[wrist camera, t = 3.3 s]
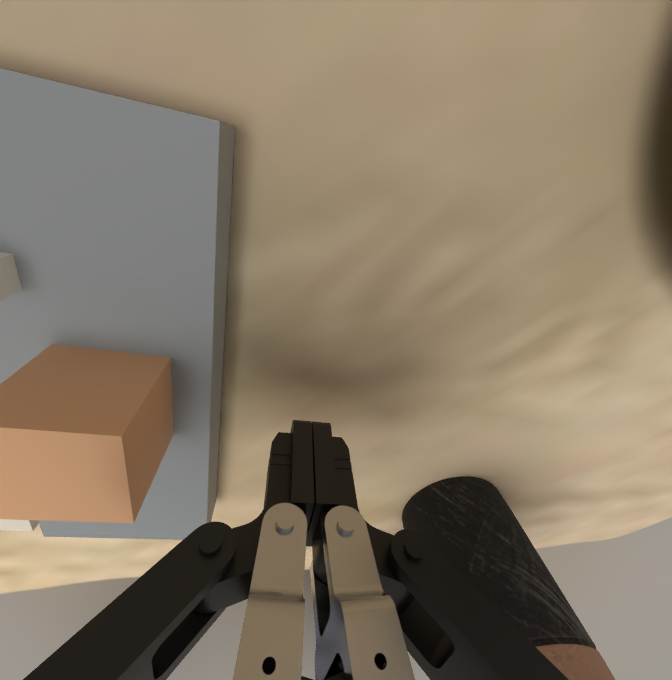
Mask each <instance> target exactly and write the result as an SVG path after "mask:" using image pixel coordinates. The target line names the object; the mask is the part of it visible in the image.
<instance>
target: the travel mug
mask: <svg viewBox="0 0 672 680" xmlns="http://www.w3.org/2000/svg"><path fill="white" fill-rule="evenodd" d="M402 521H403V526H404V530H412V531H415V532H417V533H419V534H421V535H422V536H423V537H424V538H425V539H426V540H427V541H428V542H429V543H430V544H431V545H432V546H433V547H434V548H436V549H437V550H438V551H439V552H440V553H441V554H442V555H443V556H444V557H445V558H446V559H447V560H448V561H449V562H450V563H451V564H452V565H453V566H454V567H455V568H456V569H457V570H458V571H459V572H460V573H461V574H462V575H463V576H464V577H465V578H466V579H467V580H468V581H469V582H470V583H471V584H472V585H473V586H474V587H475V588H476V589H477V590H478V591H479V592H480V593H481V594H482V595H483V596H484V597H485V598H486V599H487V600H488V601H489V602H490V603H491V604H492V605H493V606H494V607H495V608H497V609H498V610H499V611H500V612H501V613H502V614H503V615H504V616H505V617H506V618H507V619H508V620H509V621H510V622H511V623H512V624H513V625H514V626H515V627H516V628H517V629H518V630H519V631H520V632H521V633H522V634H523V635H524V636H525V637H526V638H527V639H528V640H529V641H530V642H531V643H532V644H533V645H534V646H535V647H536V648H537V649H538V650H539V651H540V652H541V653H542V654H543V655H544V656H545V657H546V658H547V659H548V660H549V661H550V662H551V663H552V664H553V665H554V666H555V667H556V668H558V669H559V670H560V671H561V672H562V673H563V674H564V675H565V676H566V677H567V678H568V679H569V680H615V678H614V677H613V675H612V673H611V671H610V670H609V668H608V666H607V665H606V663H605V661H604V660H603V658H602V656H601V655H600V653H599V652H598V651H597V650H596V647H595V645H594V643H593V641H592V640H591V638H590V637H589V635H588V634H587V632H586V630H585V629H584V627H583V625H582V624H581V622H580V620H579V619H578V617H577V616H576V614H575V613H574V611H573V609H572V608H571V606H570V604H569V603H568V601H567V600H566V598H565V596H564V595H563V593H562V592H561V590H560V588H559V587H558V585H557V583H556V582H555V580H554V579H553V577H552V575H551V574H550V572H549V571H548V569H547V567H546V566H545V564H544V563H543V561H542V559H541V558H540V556H539V555H538V553H537V551H536V550H535V548H534V546H533V545H532V543H531V542H530V540H529V538H528V537H527V535H526V533H525V532H524V530H523V529H522V527H521V525H520V524H519V522H518V521H517V519H516V517H515V516H514V514H513V513H512V511H511V509H510V508H509V506H508V505H507V503H506V502H505V500H504V498H503V497H502V495H501V494H500V493H499V491H498V490H497V489H496V488H495V487H494V486H493V485H492V484H491V483H489V482H487V481H485V480H482V479H478V478H471V477H460V478H452V479H448V480H444V481H440V482H438V483H435V484H433V485H431V486H428V487H427V488H425V489H423V490H421V491H420V492H419V493H417V494H416V495H415V496H414V497H413V498H412V499H411V500H410V501H409V502H408V504H407V505H406V507H405V509H404V511H403V518H402Z"/></svg>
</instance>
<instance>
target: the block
mask: <svg viewBox="0 0 672 680" xmlns="http://www.w3.org/2000/svg"><path fill="white" fill-rule="evenodd" d="M173 435H174V429H173V403H172V377H171V358H169V357H161V356H152V355H143V354H135V353H126V352H117V351H109V350H100V349H91V348H83V347H74V346H65V345H56V344H51V345H50V346H49V347H47V348H46V349H45V350H43V351H42V352H41V353H40V354H38V355H37V356H36V357H34V358H33V359H32V360H31V361H29V362H28V363H27V364H26V365H24V366H23V367H22V368H20V369H19V370H18V371H17V372H15V373H14V374H13V375H11V376H10V377H9V378H8V379H6V380H5V381H4V382H2V383H1V384H0V519H11V520H43V521H76V522H108V523H134V522H135V520H136V517H137V515H138V513H139V511H140V508H141V506H142V504H143V502H144V499H145V497H146V495H147V493H148V490H149V488H150V486H151V484H152V481H153V479H154V477H155V475H156V473H157V470H158V468H159V466H160V464H161V461H162V459H163V457H164V455H165V452H166V450H167V448H168V446H169V443H170V441H171V439H172V437H173Z"/></svg>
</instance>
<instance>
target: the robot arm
mask: <svg viewBox="0 0 672 680" xmlns="http://www.w3.org/2000/svg"><path fill="white" fill-rule="evenodd" d="M306 546H312V548H313V560H312V563H311V567H310V576H311V588H312V599H313V611H314V622H315V633H316V651H315V680H415V678H414V674H413V670H412V667H411V663H410V659H409V655H408V652H409V653H410V654H411V656H412V657H413V658H414V659H415V661H416V662H417V663H418V665H419V666H420V667H421V668H422V670H423V671H424V672H425V673H426V675H427V676H428V677H429V678H430V680H569V679H568V678H567V677H566V676H565V675H564V674H563V673H562V672H561V671H560V670H559V669H558V668H556V667H555V666H554V665H553V664H552V663H551V662H550V661H549V660H548V659H547V658H546V657H545V656H544V655H543V654H542V653H541V652H540V651H539V650H538V649H537V648H536V647H535V646H534V645H533V644H532V643H531V642H530V641H529V640H528V639H527V638H526V637H525V636H524V635H523V634H522V633H521V632H520V631H519V630H518V629H517V628H516V627H515V626H514V625H513V624H512V623H511V622H510V621H509V620H508V619H507V618H506V617H505V616H504V615H503V614H502V613H501V612H500V611H499V610H498V609H497V608H495V607H494V606H493V605H492V604H491V603H490V602H489V601H488V600H487V599H486V598H485V597H484V596H483V595H482V594H481V593H480V592H479V591H478V590H477V589H476V588H475V587H474V586H473V585H472V584H471V583H470V582H469V581H468V580H467V579H466V578H465V577H464V576H463V575H462V574H461V573H460V572H459V571H458V570H457V569H456V568H455V567H454V566H453V565H452V564H451V563H450V562H449V561H448V560H447V559H446V558H445V557H444V556H443V555H442V554H441V553H440V552H439V551H438V550H437V549H436V548H434V547H433V546H432V545H431V544H430V543H429V542H428V541H427V540H426V539H425V538H424V537H423V536H422V535H421V534H419V533H417V532H415V531H412V530H401V531H399V532H397V533H396V534H395V535H391V534H389V533H386V532H384V531H381V530H378V529H376V528H374V527H372V526H371V525H370V524H368V523H367V522H366V521H365V520H364V518H363V516H362V515H361V514H360V512H359V509H358V505H357V499H356V493H355V487H354V480H353V474H352V468H351V462H350V455H349V448H348V447H347V445H346V443H345V442H344V440H343V439H342V438H341V437H332V432H331V424H330V423H322V422H312V423H311V422H310V421H299V420H293V422H292V427H291V432H290V433H281V432H278V434H277V435H276V437H275V438H274V440H273V441H272V446H271V452H270V459H269V465H268V473H267V482H266V492H265V501H264V509H263V511H262V513H261V514H260V515H259V516H258V517H257V518H256V519H255V520H254V521H252V522H250V523H248V524H245V525H242V526H239V527H236V528H231V527H229V526H228V525H227V524H224V523H221V522H209V523H206V524H203V525H201V526H199V527H198V528H197V529H195V530H194V531H193V532H192V533H191V534H189V535H188V536H187V537H186V538H185V539H184V540H183V541H181V542H180V543H179V544H178V545H177V546H176V547H174V548H173V549H172V550H171V551H170V552H169V553H168V554H166V555H165V556H164V557H163V558H162V559H161V560H160V561H158V562H157V563H156V564H155V565H154V566H153V567H152V568H150V569H149V570H148V571H147V572H146V573H145V574H144V575H142V576H141V577H140V578H139V579H138V580H137V581H136V582H134V583H133V584H132V585H131V586H130V587H129V588H128V589H126V590H125V591H124V592H123V593H122V594H121V595H119V596H118V597H117V598H116V599H115V600H114V601H113V602H112V603H110V604H109V605H108V606H107V607H106V608H105V609H103V610H102V611H101V612H100V613H99V614H98V615H97V616H95V617H94V618H93V619H92V620H91V621H90V622H89V623H87V624H86V625H85V626H84V627H83V628H82V629H81V630H79V631H78V632H77V633H76V634H75V635H74V636H72V637H71V638H70V639H69V640H68V641H67V642H66V643H64V644H63V645H62V646H61V647H60V648H59V649H58V650H57V651H55V652H54V653H53V654H52V655H51V656H50V657H48V658H47V659H46V660H45V661H44V662H43V663H41V664H40V665H39V666H38V667H37V668H36V669H35V670H34V671H32V672H31V673H30V674H29V675H28V676H27V677H25V678H24V679H23V680H166V679H167V678H168V677H169V675H170V674H171V673H172V672H173V670H174V669H175V668H176V667H177V666H178V665H179V663H180V662H181V661H182V660H183V659H184V657H185V656H186V655H187V654H188V653H189V652H190V650H191V649H192V648H193V647H194V646H195V644H196V643H197V642H198V641H199V640H200V638H201V637H202V636H203V635H204V634H205V633H206V631H207V630H208V629H209V628H210V627H211V625H212V624H213V623H214V622H215V621H216V619H217V618H218V617H219V616H220V615H221V613H222V612H223V611H224V610H225V608H226V607H228V606H231V605H233V604H236V603H238V602H241V601H243V600H246V599H248V601H247V606H246V611H245V617H244V622H243V627H242V633H241V638H240V643H239V649H238V654H237V660H236V665H235V670H234V676H233V680H312V679H309V678H306V677H303V676H301V672H302V654H303V637H304V636H303V635H304V618H305V600H304V598H303V585H304V569H305V553H306ZM407 651H408V652H407Z"/></svg>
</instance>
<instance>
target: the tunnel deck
mask: <svg viewBox="0 0 672 680" xmlns="http://www.w3.org/2000/svg"><path fill="white" fill-rule="evenodd" d="M234 141H235V126H233V125H230V124H227V123H224V122H221V121H218V120H214V119H210V118H206V117H202V116H197V115H193V114H189V113H185V112H181V111H177V110H172V109H168V108H164V107H160V106H156V105H152V104H148V103H143V102H139V101H135V100H131V99H127V98H123V97H118V96H114V95H110V94H106V93H102V92H98V91H93V90H89V89H85V88H81V87H77V86H73V85H69V84H64V83H60V82H56V81H52V80H48V79H44V78H39V77H35V76H31V75H27V74H23V73H19V72H15V71H10V70H6V69H2V68H0V384H1V383H2V382H4V381H5V380H6V379H8V378H9V377H10V376H11V375H13V374H14V373H15V372H17V371H18V370H19V369H20V368H22V367H23V366H24V365H26V364H27V363H28V362H29V361H31V360H32V359H33V358H34V357H36V356H37V355H38V354H40V353H41V352H42V351H43V350H45V349H46V348H47V347H49V346H50V345H51V344H56V345H65V346H74V347H83V348H91V349H100V350H109V351H117V352H126V353H135V354H143V355H152V356H161V357H169V358H171V377H172V403H173V429H174V435H173V437H172V439H171V441H170V443H169V446H168V448H167V450H166V452H165V455H164V457H163V459H162V461H161V464H160V466H159V468H158V470H157V473H156V475H155V477H154V479H153V481H152V484H151V486H150V488H149V490H148V493H147V495H146V497H145V499H144V502H143V504H142V506H141V508H140V511H139V513H138V515H137V517H136V520H135V522H134V523H108V522H76V521H43V520H11V519H0V530H12V531H33V530H34V529H35V528H36V526H37V525H38V523H39V524H40V527H41V530H42V533H43V535H44V536H47V537H89V538H132V539H175V540H184V539H185V538H186V537H187V536H188V535H189V534H191V533H192V532H193V531H194V530H195V529H197V528H198V527H199V526H201V525H203V524H206V523H209V522H211V519H212V515H213V510H214V506H215V502H216V493H217V474H218V454H219V435H220V415H221V395H222V376H223V356H224V337H225V317H226V298H227V278H228V259H229V239H230V220H231V200H232V180H233V161H234Z"/></svg>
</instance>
